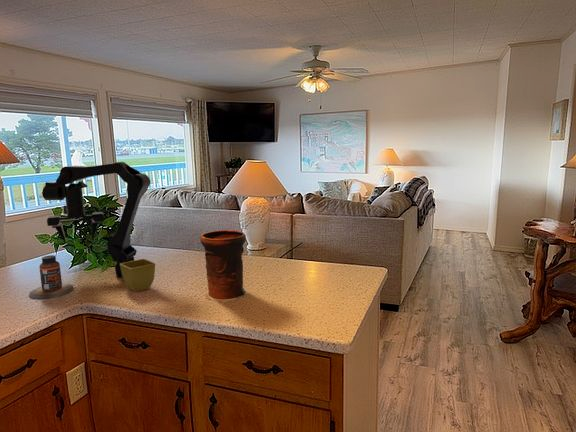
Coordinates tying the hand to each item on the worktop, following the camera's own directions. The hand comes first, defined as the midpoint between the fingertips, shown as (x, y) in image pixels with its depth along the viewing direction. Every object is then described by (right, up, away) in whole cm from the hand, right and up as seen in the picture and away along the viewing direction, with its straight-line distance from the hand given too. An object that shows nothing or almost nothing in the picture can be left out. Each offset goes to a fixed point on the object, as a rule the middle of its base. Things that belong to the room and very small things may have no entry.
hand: (79, 241), depth 153 cm
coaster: (-1, -16, -16) cm, 22 cm away
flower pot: (+28, -16, -14) cm, 35 cm away
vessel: (+58, -16, -20) cm, 64 cm away
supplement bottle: (-1, -15, -16) cm, 22 cm away
